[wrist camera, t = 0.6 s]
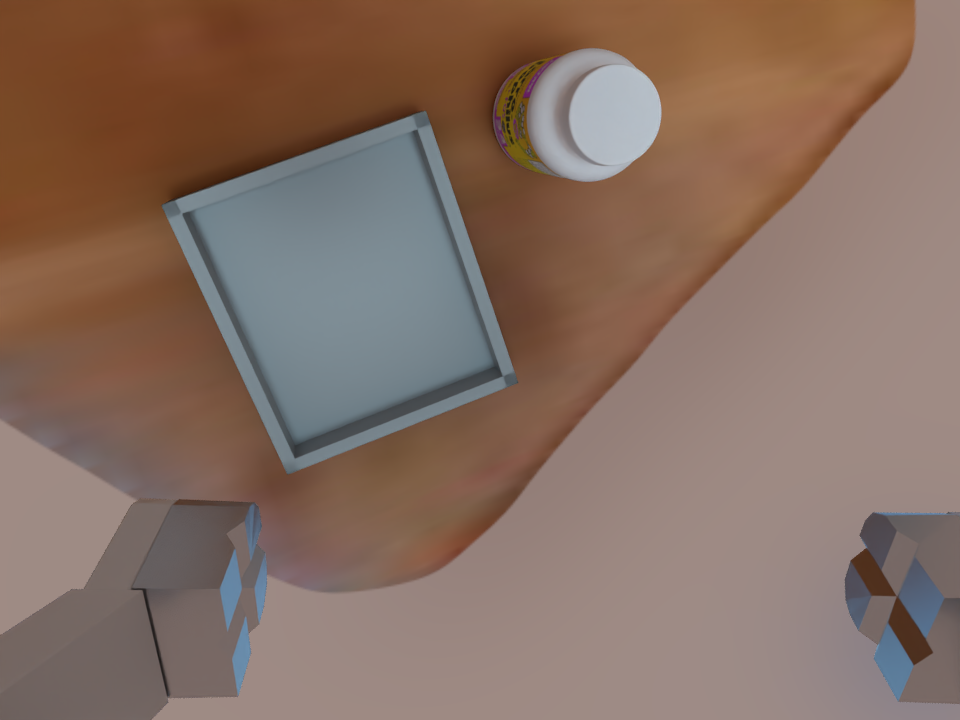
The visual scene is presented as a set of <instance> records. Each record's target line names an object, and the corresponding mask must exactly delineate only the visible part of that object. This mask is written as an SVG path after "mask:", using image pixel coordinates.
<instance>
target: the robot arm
mask: <svg viewBox="0 0 960 720" xmlns="http://www.w3.org/2000/svg"><path fill="white" fill-rule="evenodd" d="M261 527H262V524H261V518H260V512H259V507H258V506H257V504H256V503H255V502H234V501H208V500H182V499H179V500H167V499H139V500H138V501H136V502H135V503H133V504H132V505H131V506H130V508H129V510H128V511H127V513H126V515H125V517H124V519H123V520H122V522H121V524H120V526H119V527H118V529H117V531H116V533H115V534H114V536H113V538H112V540H111V542H110V543H109V545H108V547H107V549H106V550H105V552H104V554H103V556H102V557H101V559H100V561H99V563H98V565H97V566H96V568H95V570H94V571H93V573H92V575H91V577H90V579H89V580H88V582H87V584H86V586H85V587H84V589H71V590H70V591H68V592H66V593H65V594H63V595H62V596H60V597H59V598H57V599H56V600H54V601H53V602H51V603H49V604H48V605H46V606H45V607H43V608H42V609H40V610H39V611H37V612H36V613H34V614H32V615H31V616H29V617H28V618H26V619H25V620H23V621H22V622H20V623H18V624H17V625H15V626H14V627H12V628H11V629H9V630H8V631H6V632H5V633H3V634H1V635H0V720H151V719H152V718H153V717H154V716H155V715H156V714H157V713H158V712H159V711H160V710H161V709H162V708H163V707H164V706H165V705H166V704H167V703H168V698H202V697H238V695H239V692H240V689H241V685H242V682H243V678H244V675H245V671H246V668H247V664H248V661H249V658H250V654H251V648H250V641H249V634H248V633H250V632H251V631H252V630H253V629H254V628H255V627H257V626H258V625H259V623H260V619H261V615H262V611H263V608H264V602H265V594H266V587H267V564H266V555H265V552H264V551H263V550H262V549H261V548H260V547H259V546H258V545H257V544H256V543H257V540H258V537H259V534H260V531H261ZM860 537H861V539H862V541H863V542H864V544H865V546H866V549H864V550H863V551H862V552H861V553H860V554H858V555H857V556H856V557H854V558H853V559H852V560H851V561H850V565H849V568H848V571H847V574H846V577H845V595H846V596H845V597H846V603H847V606H848V610H849V613H850V616H851V618H852V620H853V621H854V623H855V625H856V627H857V629H858V631H860V632H861V633H862V634H864V635H865V636H866V637H868V638H869V639H871V640H872V641H873V642H875V643H876V644H877V649H876V652H875V656H874V660H875V661H876V663H877V665H878V667H879V669H880V670H881V672H882V674H883V676H884V677H885V679H886V681H887V683H888V685H889V686H890V688H891V690H892V692H893V693H894V695H895V697H896V699H897V701H898V702H922V703H950V704H951V703H952V704H960V512H948V513H946V514H945V513H872V514H871V515H870V516H869V517H868V518H867V519H866V521H865V523H864V525H863V528H862V530H861V533H860Z"/></svg>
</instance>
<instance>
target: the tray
mask: <svg viewBox="0 0 960 720" xmlns="http://www.w3.org/2000/svg"><path fill="white" fill-rule="evenodd" d="M162 208H163V210H164V212H165V214H166V216H167V218H168V220H169V223H170V225H171V227H172V229H173V231H174V233H175V235H176V237H177V240H178V242H179V244H180V246H181V248H182V250H183V252H184V255H185V257H186V259H187V261H188V263H189V265H190V267H191V269H192V272H193V274H194V276H195V278H196V280H197V282H198V284H199V287H200V289H201V291H202V293H203V295H204V297H205V299H206V301H207V304H208V306H209V308H210V310H211V312H212V314H213V316H214V319H215V321H216V323H217V325H218V327H219V329H220V331H221V333H222V336H223V338H224V340H225V342H226V344H227V346H228V348H229V351H230V353H231V355H232V357H233V359H234V361H235V363H236V365H237V368H238V370H239V372H240V374H241V376H242V378H243V380H244V383H245V385H246V387H247V389H248V391H249V393H250V395H251V398H252V400H253V402H254V404H255V406H256V408H257V410H258V412H259V415H260V417H261V419H262V421H263V423H264V425H265V427H266V430H267V432H268V434H269V436H270V438H271V440H272V442H273V444H274V447H275V449H276V451H277V453H278V455H279V457H280V459H281V462H282V464H283V466H284V468H285V470H286V472H287V474H290V473H293V472H295V471H298V470H300V469H303V468H305V467H308V466H310V465H313V464H315V463H318V462H320V461H323V460H325V459H328V458H330V457H333V456H335V455H338V454H340V453H343V452H345V451H348V450H351V449H353V448H356V447H358V446H361V445H363V444H366V443H368V442H371V441H373V440H376V439H378V438H381V437H383V436H386V435H388V434H391V433H393V432H396V431H398V430H401V429H403V428H406V427H408V426H411V425H413V424H416V423H418V422H421V421H423V420H426V419H428V418H431V417H433V416H436V415H439V414H441V413H444V412H446V411H449V410H451V409H454V408H456V407H459V406H461V405H464V404H466V403H469V402H471V401H474V400H476V399H479V398H481V397H484V396H486V395H489V394H491V393H494V392H496V391H499V390H501V389H504V388H506V387H509V386H511V385H514V384H516V383H518V381H517V378H516V375H515V372H514V369H513V366H512V363H511V360H510V357H509V354H508V351H507V349H506V346H505V343H504V340H503V337H502V334H501V331H500V328H499V325H498V322H497V319H496V316H495V313H494V310H493V307H492V304H491V301H490V298H489V295H488V292H487V290H486V287H485V284H484V281H483V278H482V275H481V272H480V269H479V266H478V263H477V260H476V257H475V254H474V251H473V248H472V245H471V242H470V239H469V236H468V234H467V231H466V228H465V225H464V222H463V219H462V216H461V213H460V210H459V207H458V204H457V201H456V198H455V195H454V192H453V189H452V186H451V183H450V180H449V178H448V175H447V172H446V169H445V166H444V163H443V160H442V157H441V154H440V151H439V148H438V145H437V142H436V139H435V136H434V133H433V130H432V127H431V124H430V121H429V119H428V116H427V113H426V111H421V112H417V113H414V114H411V115H408V116H406V117H403V118H400V119H397V120H394V121H392V122H389V123H386V124H383V125H380V126H377V127H375V128H372V129H369V130H366V131H363V132H361V133H358V134H355V135H352V136H349V137H347V138H344V139H341V140H338V141H335V142H333V143H330V144H327V145H324V146H321V147H319V148H316V149H313V150H310V151H307V152H305V153H302V154H299V155H296V156H293V157H291V158H288V159H285V160H282V161H279V162H276V163H274V164H271V165H268V166H265V167H262V168H260V169H257V170H254V171H251V172H248V173H246V174H243V175H240V176H237V177H234V178H232V179H229V180H226V181H223V182H220V183H218V184H215V185H212V186H209V187H206V188H204V189H201V190H198V191H195V192H192V193H190V194H187V195H184V196H181V197H178V198H176V199H173V200H170V201H168V202H166V203H164V204H162Z"/></svg>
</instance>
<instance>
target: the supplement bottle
mask: <svg viewBox="0 0 960 720" xmlns="http://www.w3.org/2000/svg"><path fill="white" fill-rule="evenodd" d="M660 122H661V103H660V98H659V95H658V92H657V90H656V88H655V86H654V85H653V83H652V82H651V80H650V79H649V78H648V77H647V76H646V75H645V74H644V73H643V72H641V71H640V70H638V69H637V68H636V67H635V66H634V65H633V64H632V63H631V62H630V61H629V60H627V59H626V58H624V57H623V56H621V55H619V54H617V53H614V52H611V51H608V50H604V49H598V48H587V49H580V50H576V51H572V52H569V53H565V54H561V55H557V56H554V57H550V58H546V59H542V60H538V61H534V62H531V63H529V64H526V65H524V66H522V67H520V68H519V69H517V70H516V71H514V72H513V73H512V74H511V75H510V76H509V77H508V78H507V79H506V80H505V82H504V83H503V85H502V86H501V88H500V90H499V92H498V94H497V96H496V99H495V103H494V109H493V126H494V131H495V135H496V138H497V140H498V142H499V144H500V146H501V148H502V150H503V151H504V152H505V154H506V155H507V156H508V157H509V158H510V159H511V160H512V161H514V162H515V163H516V164H518V165H519V166H521V167H523V168H526V169H528V170H531V171H534V172H538V173H542V174H547V175H552V176H557V177H561V178H566V179H571V180H575V181H583V182H592V181H599V180H603V179H607V178H609V177H612V176H614V175H616V174H618V173H619V172H621V171H622V170H624V169H625V168H626V167H627V166H629V165H630V164H631V163H632V162H633V161H634V160H635V159H637V158H639V157H640V156H641V155H642V154H643V153H645V152H646V150H647V149H648V148H649V147H650V146H651V144H652V143H653V141H654V139H655V137H656V135H657V133H658V130H659V126H660Z"/></svg>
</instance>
